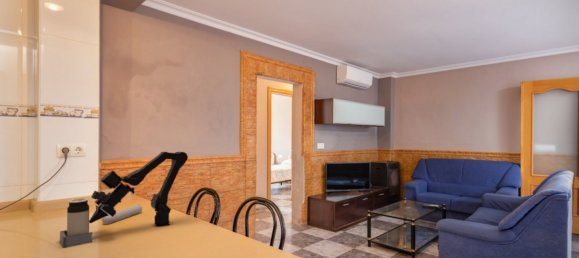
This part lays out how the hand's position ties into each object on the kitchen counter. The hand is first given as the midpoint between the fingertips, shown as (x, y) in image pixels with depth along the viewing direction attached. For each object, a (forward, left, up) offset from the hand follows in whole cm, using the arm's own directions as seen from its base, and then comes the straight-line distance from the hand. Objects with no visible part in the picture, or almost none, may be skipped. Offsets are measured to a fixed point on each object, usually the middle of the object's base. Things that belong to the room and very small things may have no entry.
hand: (89, 222), depth 137 cm
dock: (+5, +2, -7) cm, 9 cm away
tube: (-9, -32, -8) cm, 34 cm away
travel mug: (+4, +2, -7) cm, 8 cm away
